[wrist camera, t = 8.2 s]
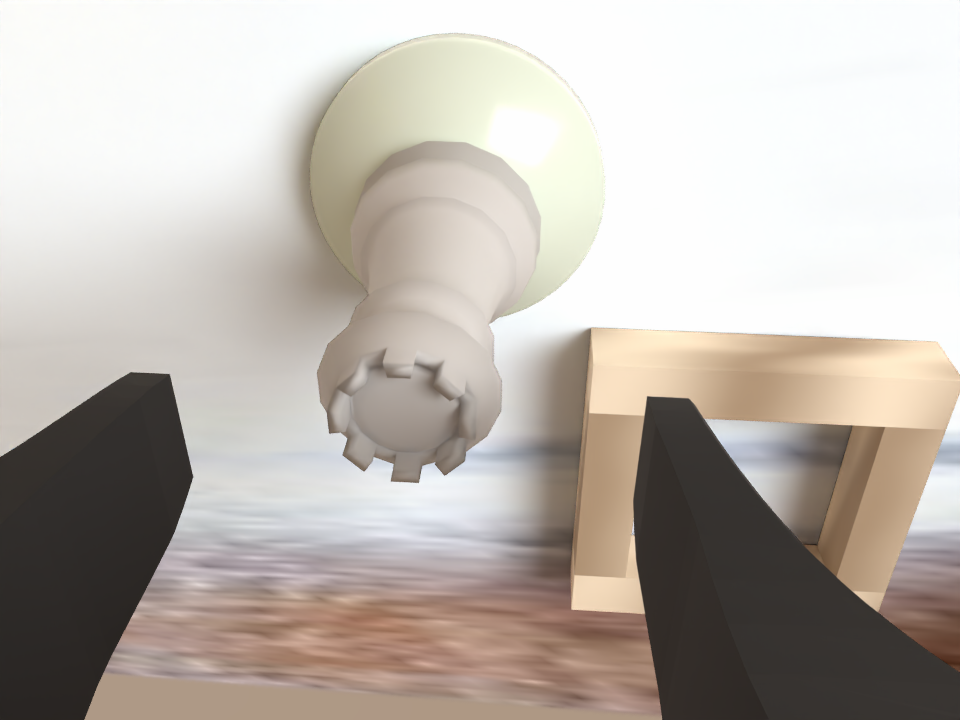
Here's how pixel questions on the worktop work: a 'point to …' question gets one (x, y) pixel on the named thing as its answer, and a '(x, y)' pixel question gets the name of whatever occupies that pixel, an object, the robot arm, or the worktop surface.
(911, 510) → the pocket block
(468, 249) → the rook chess piece
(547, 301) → the worktop surface
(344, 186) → the coaster
